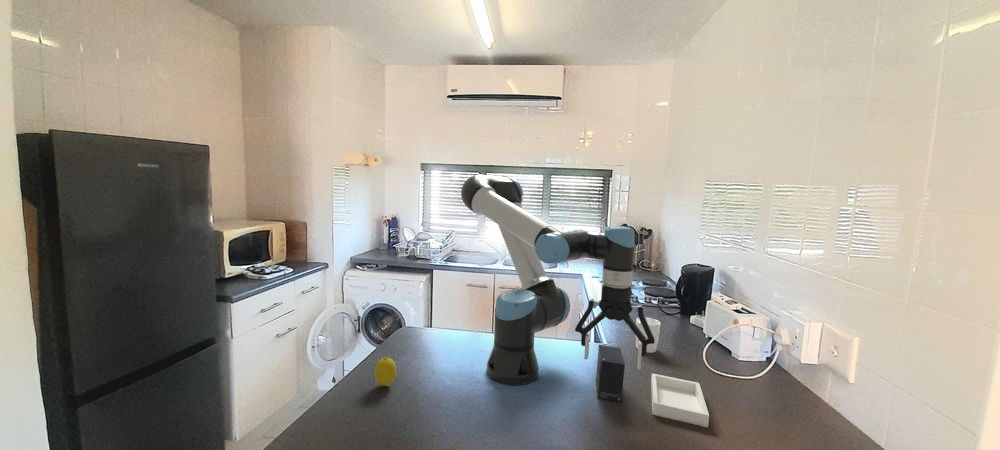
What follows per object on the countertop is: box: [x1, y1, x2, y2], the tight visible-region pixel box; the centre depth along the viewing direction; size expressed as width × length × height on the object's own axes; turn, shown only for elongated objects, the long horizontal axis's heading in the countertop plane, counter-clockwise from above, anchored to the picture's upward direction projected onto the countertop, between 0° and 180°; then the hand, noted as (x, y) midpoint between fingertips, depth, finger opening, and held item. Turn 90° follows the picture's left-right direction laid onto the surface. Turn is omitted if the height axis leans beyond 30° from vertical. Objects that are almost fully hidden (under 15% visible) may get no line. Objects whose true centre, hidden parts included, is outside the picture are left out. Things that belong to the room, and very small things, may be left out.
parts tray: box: [650, 373, 710, 428], centre depth 96 cm, size 12×16×3 cm
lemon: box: [374, 356, 397, 387], centre depth 97 cm, size 6×6×8 cm
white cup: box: [635, 316, 661, 354], centre depth 129 cm, size 8×8×10 cm
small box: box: [595, 344, 626, 402], centre depth 100 cm, size 11×6×10 cm, turn 168°
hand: (611, 362), depth 100 cm, fingers open, 13 cm apart
